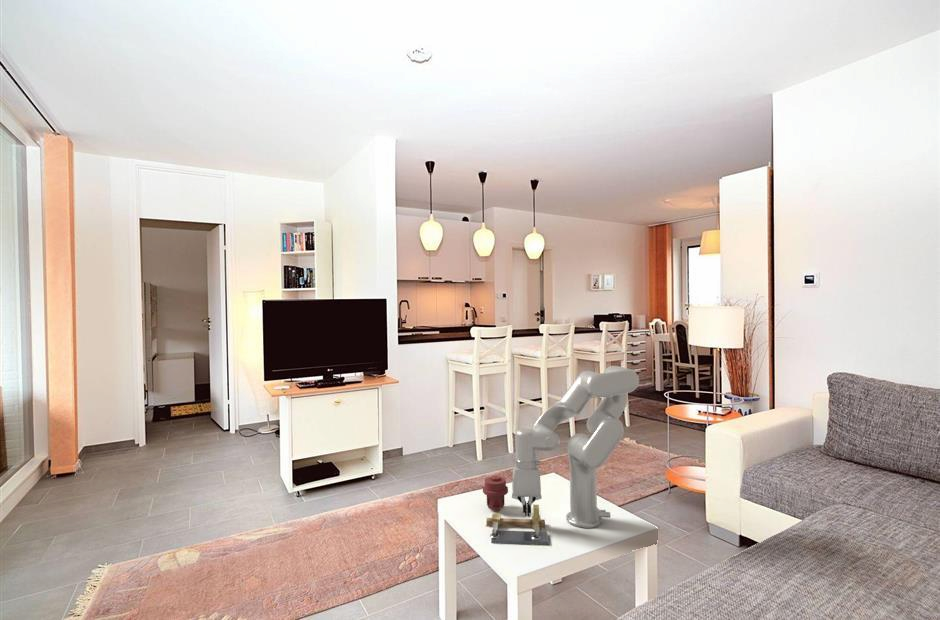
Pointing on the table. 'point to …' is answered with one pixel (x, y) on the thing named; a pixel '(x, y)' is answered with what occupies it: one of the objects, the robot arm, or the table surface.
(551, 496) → the table surface
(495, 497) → the mechanical component
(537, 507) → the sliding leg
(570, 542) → the table surface
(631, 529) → the table surface
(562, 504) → the table surface
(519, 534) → the hole plate
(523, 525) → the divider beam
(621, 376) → the robot arm
